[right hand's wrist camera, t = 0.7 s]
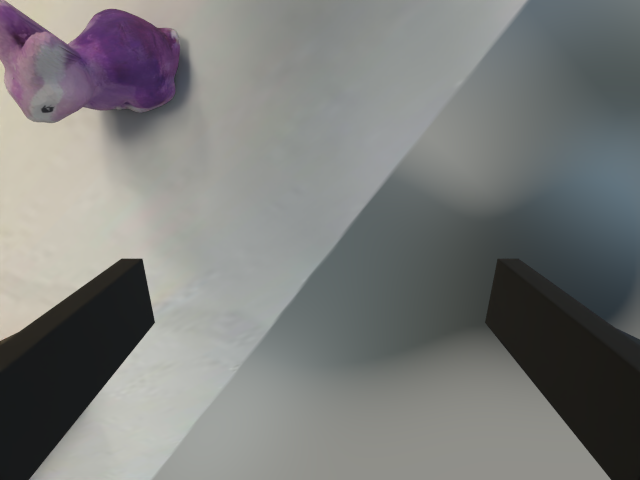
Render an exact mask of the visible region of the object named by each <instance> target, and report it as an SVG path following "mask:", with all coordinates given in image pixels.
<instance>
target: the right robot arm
mask: <svg viewBox="0 0 640 480" xmlns="http://www.w3.org/2000/svg"><path fill="white" fill-rule="evenodd" d="M154 323H155V321H154V316H153V311H152V306H151V301H150V295H149V290H148V285H147V280H146V275H145V270H144V265H143V260H142V259H121V260H119V261H118V262H116V263H115V264H114V265H112V266H111V267H109V268H108V269H107V270H105V271H104V272H102V273H101V274H100V275H98V276H97V277H95V278H94V279H93V280H91V281H90V282H88V283H87V284H86V285H84V286H83V287H81V288H80V289H79V290H77V291H76V292H74V293H73V294H72V295H70V296H69V297H67V298H66V299H65V300H63V301H62V302H60V303H59V304H58V305H56V306H55V307H53V308H52V309H51V310H49V311H48V312H46V313H45V314H44V315H42V316H41V317H39V318H38V319H37V320H35V321H34V322H32V323H31V324H30V325H28V326H27V327H25V328H24V329H23V330H21V331H20V332H18V333H16V334H14V335H12V336H10V337H8V338H6V339H4V340H2V341H0V480H29V479H30V477H31V476H32V475H33V474H34V473H35V471H36V470H37V469H38V468H39V466H40V465H41V464H42V463H43V461H44V460H45V459H46V458H47V456H48V455H49V454H50V453H51V451H52V450H53V449H54V448H55V446H56V445H57V444H58V443H59V441H60V440H61V439H62V438H63V436H64V435H65V434H66V433H67V431H68V430H69V429H70V428H71V426H72V425H73V424H74V423H75V421H76V420H77V419H78V418H79V416H80V415H81V414H82V413H83V411H84V410H85V409H86V408H87V407H88V405H89V404H90V403H91V402H92V400H93V399H94V398H95V397H96V395H97V394H98V393H99V392H100V390H101V389H102V388H103V387H104V385H105V384H106V383H107V382H108V380H109V379H110V378H111V377H112V375H113V374H114V373H115V372H116V370H117V369H118V368H119V367H120V365H121V364H122V363H123V362H124V360H125V359H126V358H127V357H128V355H129V354H130V353H131V352H132V350H133V349H134V348H135V347H136V345H137V344H138V343H139V342H140V340H141V339H142V338H143V337H144V336H145V334H146V333H147V332H148V331H149V329H150V328H151V327H152V326H153V324H154ZM485 323H486V324H487V326H488V327H489V328H490V329H491V330H492V332H493V333H494V334H495V336H496V337H497V338H498V339H499V340H500V342H501V343H502V344H503V345H504V347H505V348H506V349H507V350H508V352H509V353H510V354H511V355H512V357H513V358H514V359H515V360H516V362H517V363H518V364H519V365H520V367H521V368H522V369H523V370H524V372H525V373H526V374H527V375H528V377H529V378H530V379H531V380H532V382H533V383H534V384H535V385H536V387H537V388H538V389H539V390H540V392H541V393H542V394H543V395H544V397H545V398H546V399H547V400H548V402H549V403H550V404H551V405H552V406H553V408H554V409H555V410H556V411H557V413H558V414H559V415H560V416H561V418H562V419H563V420H564V421H565V423H566V424H567V425H568V426H569V428H570V429H571V430H572V431H573V433H574V434H575V435H576V436H577V438H578V439H579V440H580V441H581V443H582V444H583V445H584V446H585V448H586V449H587V450H588V451H589V453H590V454H591V455H592V456H593V458H594V459H595V460H596V461H597V462H598V464H599V465H600V466H601V467H602V469H603V470H604V471H605V472H606V474H607V475H608V476H609V477H610V479H611V480H640V340H639V339H637V338H635V337H633V336H631V335H629V334H627V333H625V332H623V331H621V330H619V329H616V328H615V327H613V326H612V325H610V324H609V323H608V322H606V321H605V320H603V319H602V318H601V317H599V316H598V315H596V314H595V313H593V312H592V311H591V310H589V309H588V308H587V307H585V306H584V305H582V304H581V303H580V302H578V301H577V300H575V299H574V298H573V297H571V296H570V295H568V294H567V293H565V292H564V291H563V290H561V289H560V288H559V287H557V286H556V285H554V284H553V283H552V282H550V281H549V280H547V279H546V278H545V277H543V276H542V275H540V274H539V273H538V272H536V271H535V270H533V269H532V268H531V267H529V266H528V265H526V264H525V263H524V262H522V261H521V260H519V259H498V260H497V265H496V270H495V275H494V280H493V285H492V290H491V295H490V301H489V306H488V311H487V316H486V321H485Z"/></svg>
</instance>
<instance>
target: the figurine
mask: <svg viewBox="0 0 640 480" xmlns="http://www.w3.org/2000/svg"><path fill="white" fill-rule="evenodd" d="M179 54H180V41H179V37H178V34H177V32H176V31H175V30H174V29H170V28H156V27H155V26H153V25H152V24H151V23H149V22H147V21H145V20H144V19H141V18H139V17H137V16H135V15H132V14H130V13H127V12H125V11H121V10H117V9H107V10H103V11H101V12H99V13H97V14H96V15H94V17H93V18H92V19H91V20H90V22H89V23H88V25H87V26H86V28H85V29H84V31H83V32H82V33H81V34H80V35H79V36H78V37H77V38H76V39H74V40H73V41H72V42H70V43H69V44H66V43H65V42H63V41H62V40H60V39H59V38H58V37H56V36H55V35H53V34H52V33H50V32H49V31H48V30H46V29H45V28H43V27H42V26H40V25H39V24H38V23H36V22H35V21H33V20H32V19H30V18H29V17H28V16H26V15H25V14H23V13H22V12H20V11H19V10H18V9H16V8H15V7H13V6H12V5H10V4H9V3H8V2H6V1H5V0H0V60H1V61H2V63H3V65H4V67H5V75H4V83H5V86H6V88H7V90H8V92H9V94H10V95H11V96H12V97H13V99H14V100H15V101H16V102H17V104H18V105H19V107H20V108H21V110H22V111H23V113H24V114H25V116H26V117H27V118H28V119H30V120H32V121H34V122H46V123H55V122H58V121H60V120H61V119H63V118H65V117H67V116H68V115H70V114H72V113H74V112H76V111H78V110H79V109H81V108H82V107H86V108H90V109H95V110H111V109H114V108H115V109H118V110H119V109H127V108H129V109H131V110H132V111H135V112H139V113H142V112H146V111H149V110H152V109H154V108H157V107H160V106H162V105H164V104H166V103H168V102H169V101H170V100H172V98H173V96H174V95H175V83H174V77H175V74H176V71H177V68H178V62H179Z"/></svg>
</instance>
